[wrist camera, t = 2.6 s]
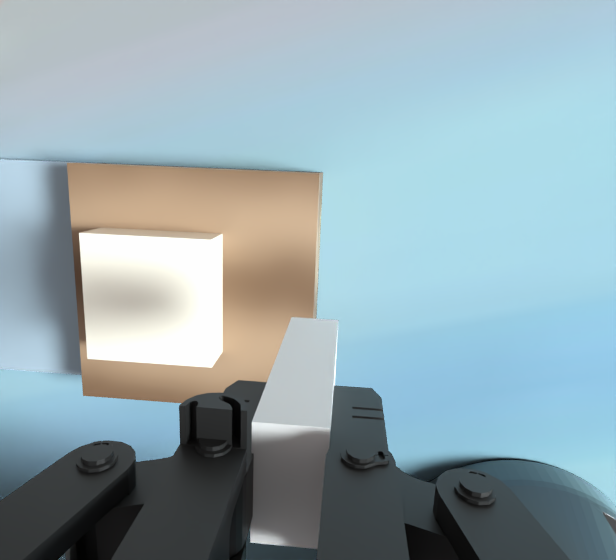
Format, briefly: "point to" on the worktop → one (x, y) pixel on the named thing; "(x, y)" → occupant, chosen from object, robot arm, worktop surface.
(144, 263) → the tile
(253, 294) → the board
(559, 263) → the worktop surface
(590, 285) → the worktop surface
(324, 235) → the worktop surface
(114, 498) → the robot arm
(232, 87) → the worktop surface
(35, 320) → the mat
